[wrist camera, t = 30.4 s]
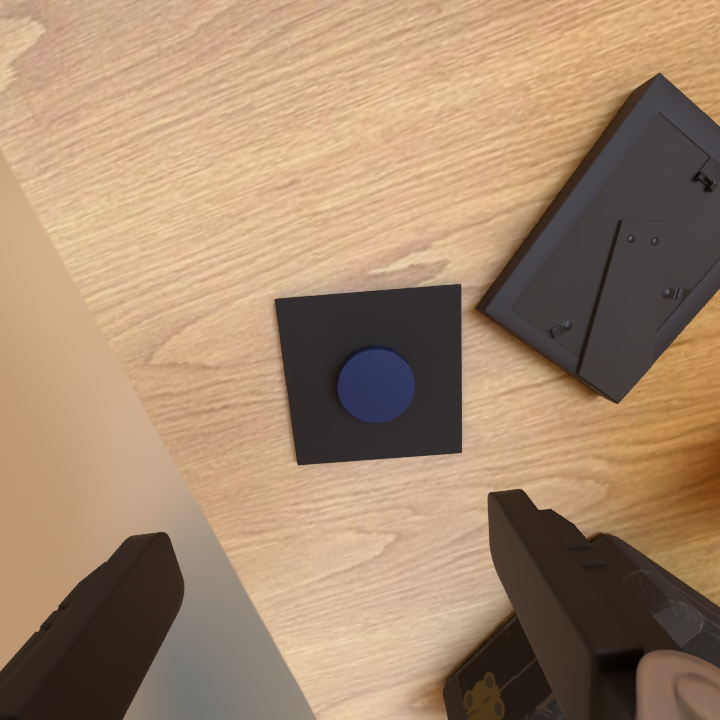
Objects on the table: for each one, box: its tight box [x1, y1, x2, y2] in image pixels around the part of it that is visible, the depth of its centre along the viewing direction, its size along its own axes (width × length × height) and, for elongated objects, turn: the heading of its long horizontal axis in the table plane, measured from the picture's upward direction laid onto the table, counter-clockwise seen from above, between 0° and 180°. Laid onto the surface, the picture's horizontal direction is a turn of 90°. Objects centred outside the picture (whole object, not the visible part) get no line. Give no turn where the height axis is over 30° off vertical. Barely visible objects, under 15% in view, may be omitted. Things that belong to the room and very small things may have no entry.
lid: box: [337, 344, 415, 423], centre depth 26 cm, size 6×6×2 cm
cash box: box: [443, 535, 720, 720], centre depth 32 cm, size 25×20×8 cm
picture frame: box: [476, 73, 720, 404], centre depth 25 cm, size 13×2×18 cm
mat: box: [275, 284, 462, 465], centre depth 27 cm, size 14×14×1 cm
